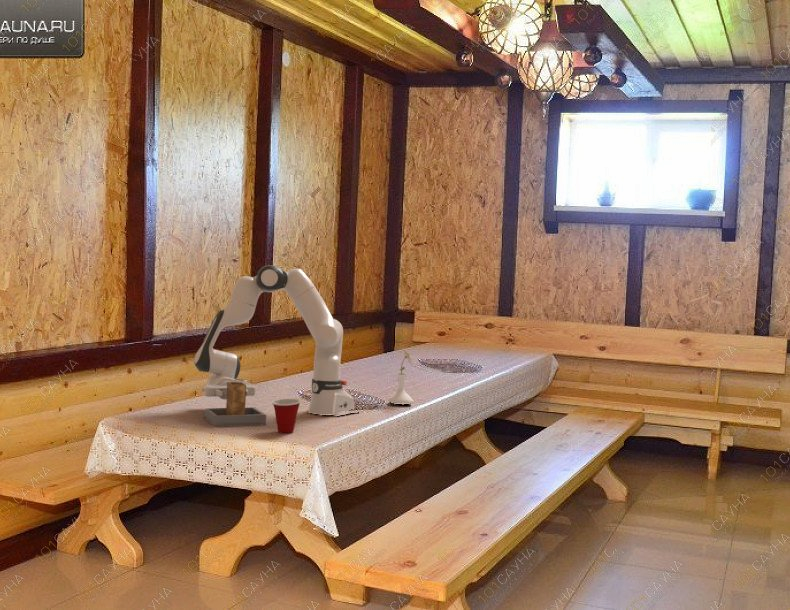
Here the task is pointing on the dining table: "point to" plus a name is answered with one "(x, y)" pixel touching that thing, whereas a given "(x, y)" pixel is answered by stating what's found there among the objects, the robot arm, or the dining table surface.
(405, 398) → the flower in vase
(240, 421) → the gray tray
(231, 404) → the wooden pencil holder
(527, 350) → the dining table surface
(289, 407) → the plastic cup
